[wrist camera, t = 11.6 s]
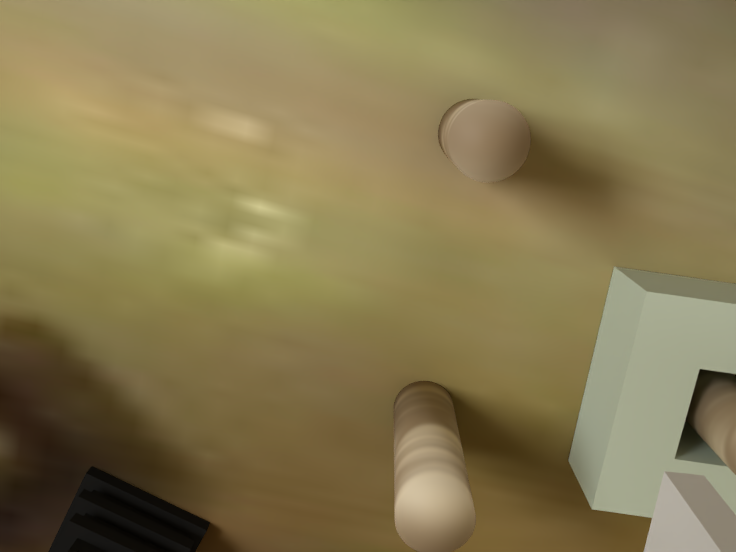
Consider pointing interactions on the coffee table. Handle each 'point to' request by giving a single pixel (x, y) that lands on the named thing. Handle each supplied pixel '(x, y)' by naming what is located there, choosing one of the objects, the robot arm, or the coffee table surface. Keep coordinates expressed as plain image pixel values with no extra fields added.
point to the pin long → (715, 413)
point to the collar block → (652, 389)
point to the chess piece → (125, 520)
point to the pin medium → (430, 471)
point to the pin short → (485, 139)
